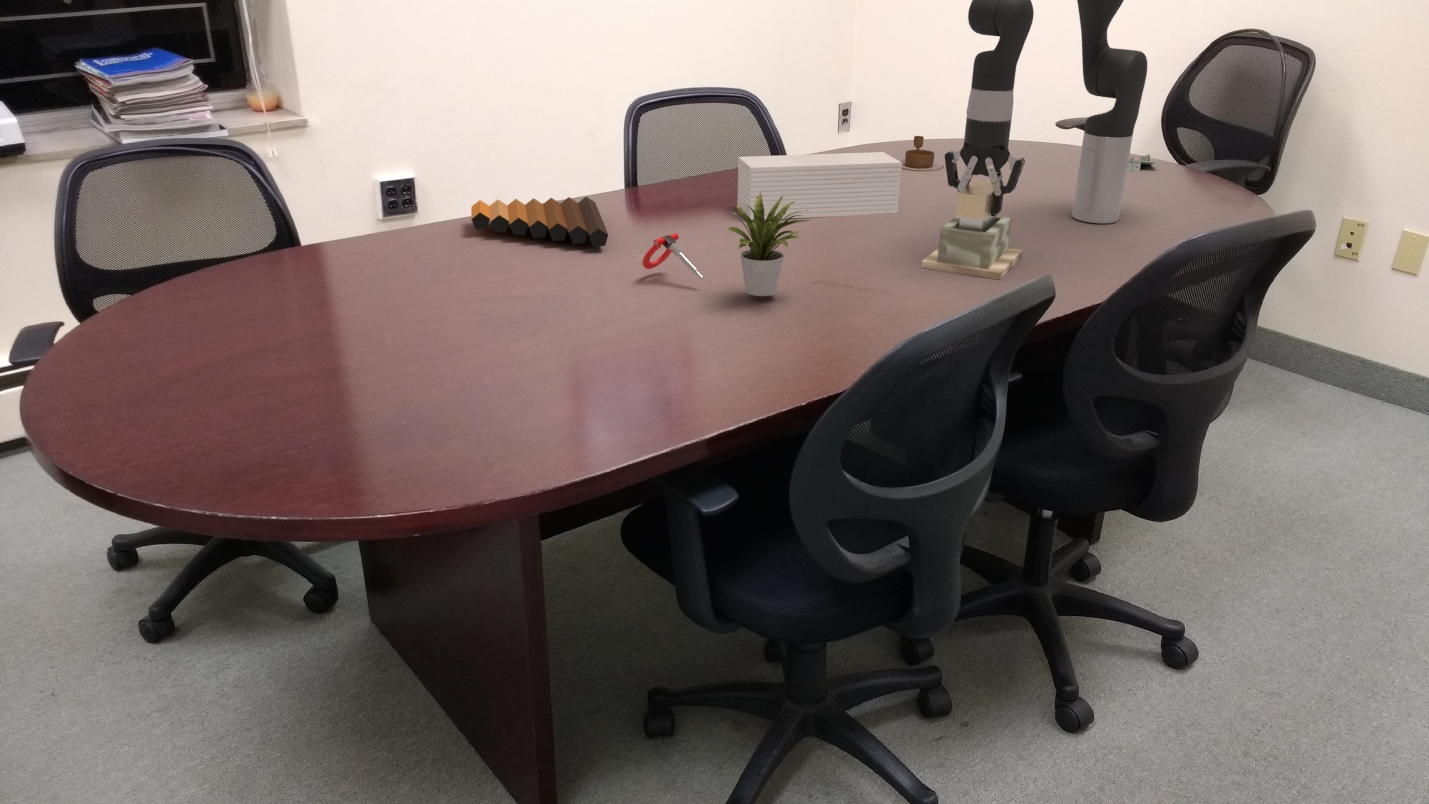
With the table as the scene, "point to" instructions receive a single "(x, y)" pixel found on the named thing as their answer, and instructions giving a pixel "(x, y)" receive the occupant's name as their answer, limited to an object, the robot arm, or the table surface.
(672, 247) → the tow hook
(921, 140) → the place setting
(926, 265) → the grey open box
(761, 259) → the house plant
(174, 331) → the table surface
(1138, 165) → the metal bracket
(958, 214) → the two-tone square post
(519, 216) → the pan flute
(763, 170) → the stack of papers
